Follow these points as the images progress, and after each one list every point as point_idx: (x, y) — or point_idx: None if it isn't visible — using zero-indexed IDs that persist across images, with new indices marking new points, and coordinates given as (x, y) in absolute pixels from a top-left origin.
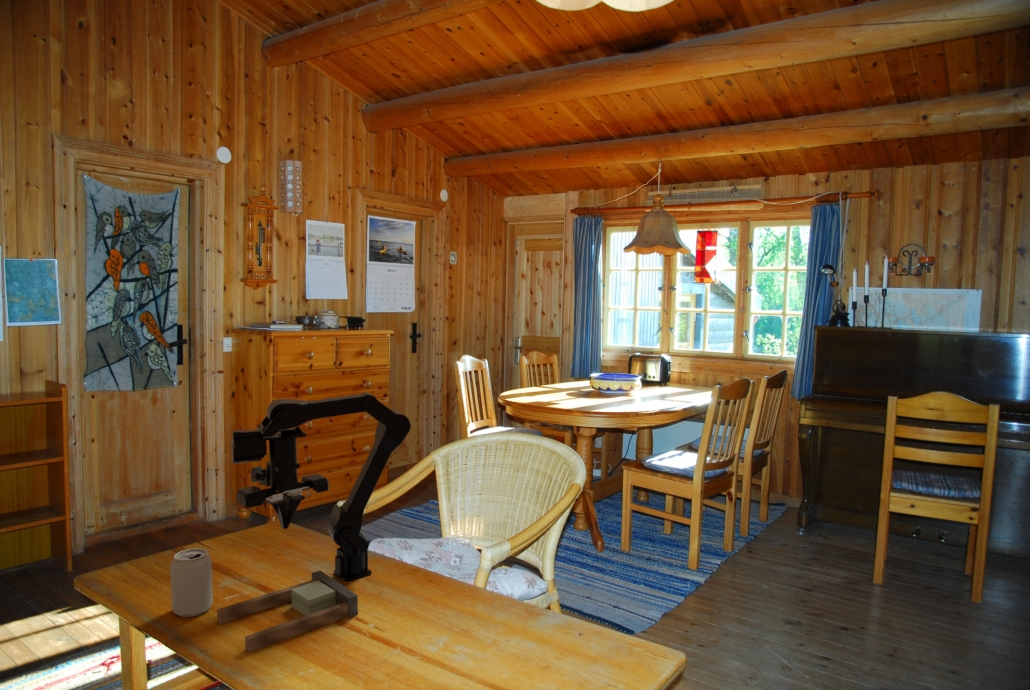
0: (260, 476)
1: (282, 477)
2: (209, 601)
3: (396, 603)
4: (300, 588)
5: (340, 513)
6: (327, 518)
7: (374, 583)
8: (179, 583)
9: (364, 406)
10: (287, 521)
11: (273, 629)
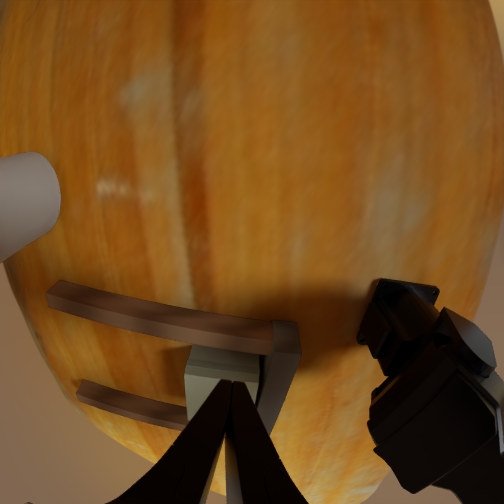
0: None
1: None
2: (42, 234)
3: (325, 433)
4: (202, 383)
5: (409, 490)
6: (461, 378)
7: (374, 374)
8: None
9: None
10: (225, 448)
11: (113, 410)
